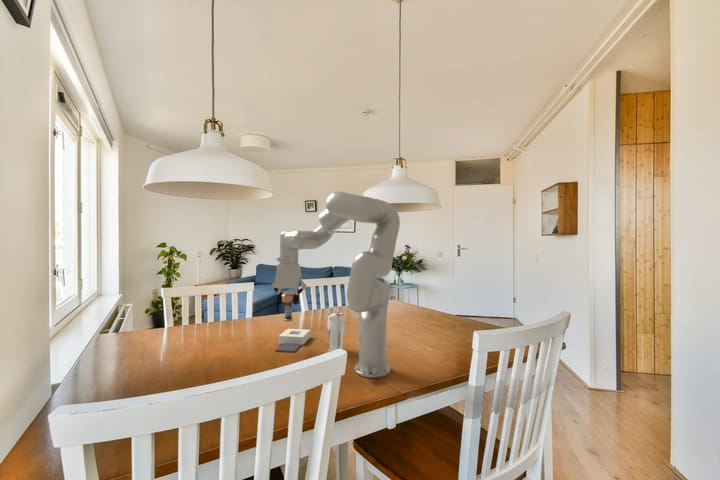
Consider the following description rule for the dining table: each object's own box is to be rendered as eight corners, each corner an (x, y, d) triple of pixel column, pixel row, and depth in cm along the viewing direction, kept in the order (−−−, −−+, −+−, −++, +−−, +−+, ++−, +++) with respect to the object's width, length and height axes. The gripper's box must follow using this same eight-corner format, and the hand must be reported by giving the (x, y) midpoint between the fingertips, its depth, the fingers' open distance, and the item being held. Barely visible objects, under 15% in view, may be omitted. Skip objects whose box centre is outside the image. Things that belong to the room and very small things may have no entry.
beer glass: (333, 346, 133) (333, 311, 133) (347, 349, 130) (347, 313, 130) (323, 351, 127) (324, 315, 127) (338, 354, 124) (338, 317, 124)
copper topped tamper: (292, 322, 127) (292, 295, 127) (278, 321, 128) (278, 295, 128) (297, 318, 133) (297, 293, 133) (284, 318, 134) (284, 292, 134)
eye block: (302, 345, 135) (302, 337, 135) (278, 343, 136) (278, 335, 136) (310, 337, 146) (310, 329, 146) (287, 336, 147) (287, 328, 147)
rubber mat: (294, 352, 126) (294, 351, 126) (275, 351, 127) (275, 350, 127) (300, 345, 134) (300, 344, 134) (283, 344, 135) (283, 343, 135)
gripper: (265, 261, 128) (265, 304, 128) (306, 262, 125) (305, 306, 126) (273, 259, 135) (272, 301, 135) (311, 260, 133) (311, 302, 133)
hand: (288, 303), depth 130 cm, fingers closed on copper topped tamper, 6 cm apart
